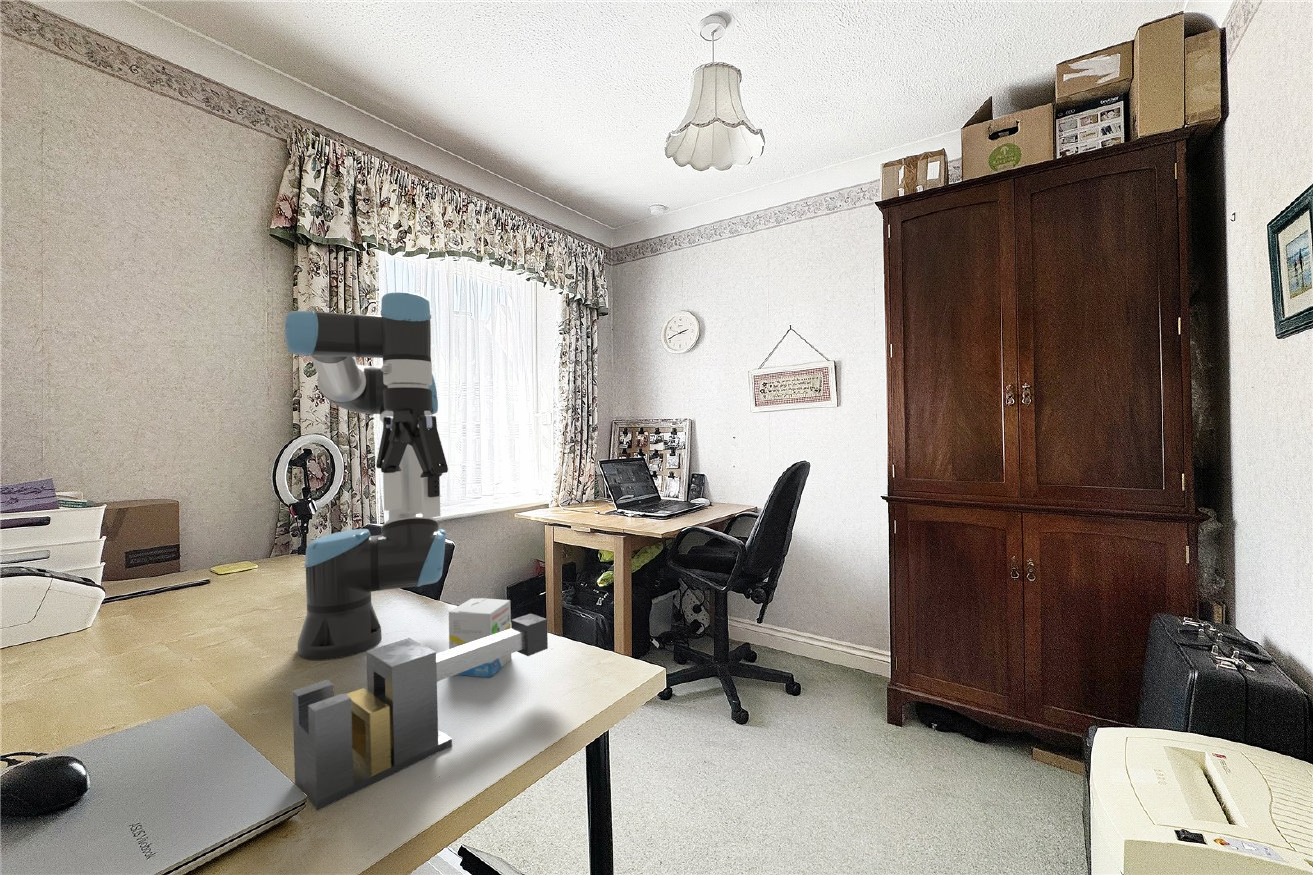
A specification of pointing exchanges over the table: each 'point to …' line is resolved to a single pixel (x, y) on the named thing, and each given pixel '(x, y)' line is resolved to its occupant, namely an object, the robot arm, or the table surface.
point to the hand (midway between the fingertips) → (411, 513)
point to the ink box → (479, 628)
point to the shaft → (495, 646)
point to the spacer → (370, 732)
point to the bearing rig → (326, 723)
